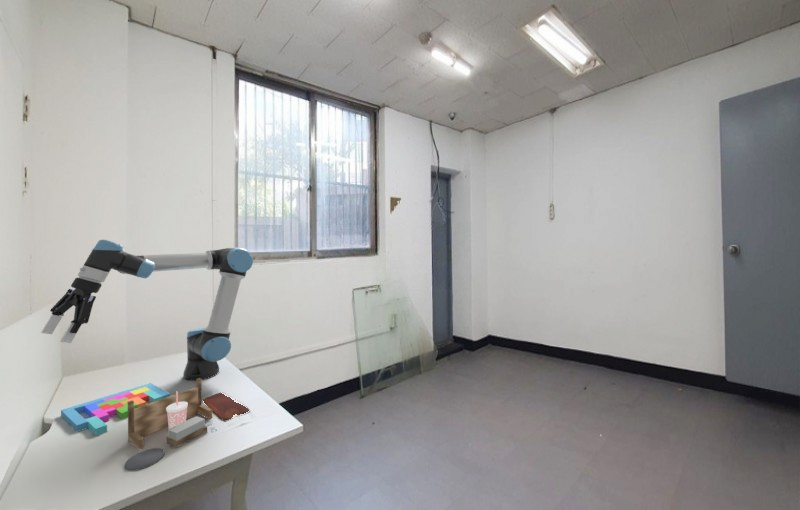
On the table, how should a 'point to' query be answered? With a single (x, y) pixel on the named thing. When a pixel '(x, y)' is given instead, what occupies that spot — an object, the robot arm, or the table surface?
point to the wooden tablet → (224, 406)
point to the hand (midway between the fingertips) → (55, 337)
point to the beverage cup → (176, 412)
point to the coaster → (144, 459)
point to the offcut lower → (186, 437)
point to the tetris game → (111, 407)
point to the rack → (162, 414)
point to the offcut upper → (186, 428)
